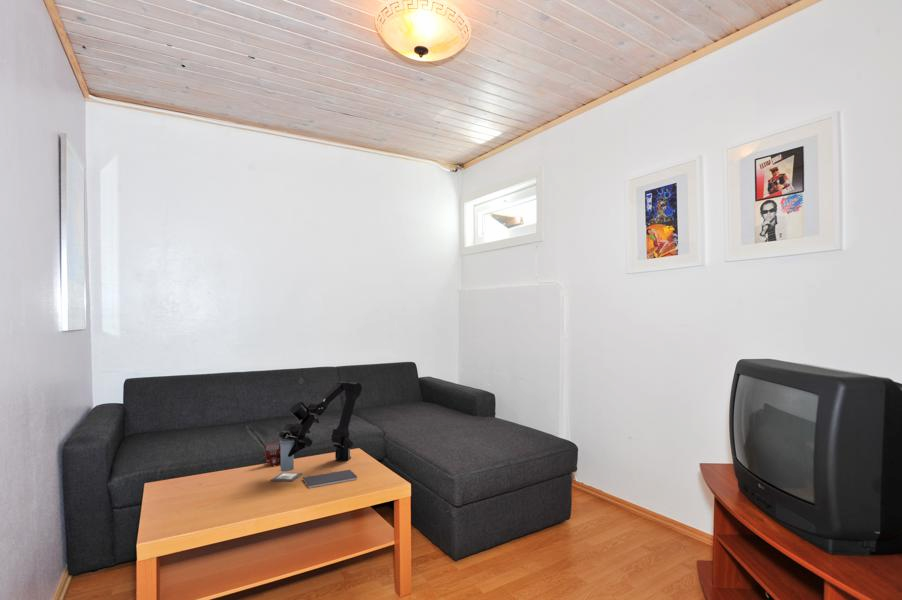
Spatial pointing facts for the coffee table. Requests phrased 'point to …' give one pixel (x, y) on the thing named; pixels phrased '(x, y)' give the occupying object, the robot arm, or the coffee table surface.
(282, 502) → the coffee table surface
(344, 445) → the robot arm
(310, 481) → the notebook
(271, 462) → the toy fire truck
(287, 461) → the vase
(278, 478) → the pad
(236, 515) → the coffee table surface
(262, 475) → the coffee table surface
